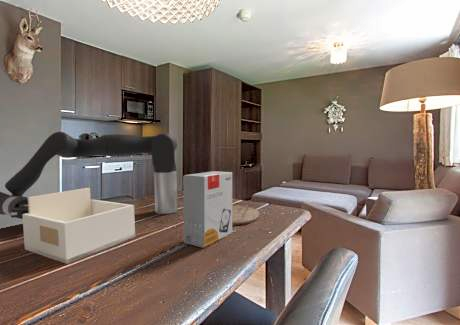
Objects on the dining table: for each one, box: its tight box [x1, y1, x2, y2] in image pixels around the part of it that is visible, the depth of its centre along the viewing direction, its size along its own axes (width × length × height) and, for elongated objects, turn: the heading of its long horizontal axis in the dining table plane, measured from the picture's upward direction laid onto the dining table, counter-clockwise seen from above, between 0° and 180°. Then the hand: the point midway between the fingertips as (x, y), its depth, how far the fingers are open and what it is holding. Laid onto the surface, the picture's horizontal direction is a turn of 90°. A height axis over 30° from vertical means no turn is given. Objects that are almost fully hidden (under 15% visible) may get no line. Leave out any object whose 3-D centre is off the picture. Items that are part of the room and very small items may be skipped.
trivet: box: [232, 204, 260, 227], centre depth 104 cm, size 25×25×2 cm
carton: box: [22, 199, 136, 265], centre depth 77 cm, size 20×21×10 cm
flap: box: [28, 187, 92, 222], centre depth 81 cm, size 1×18×12 cm, turn 152°
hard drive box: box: [182, 170, 233, 249], centre depth 79 cm, size 16×8×20 cm, turn 148°
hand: (46, 212), depth 86 cm, fingers closed
